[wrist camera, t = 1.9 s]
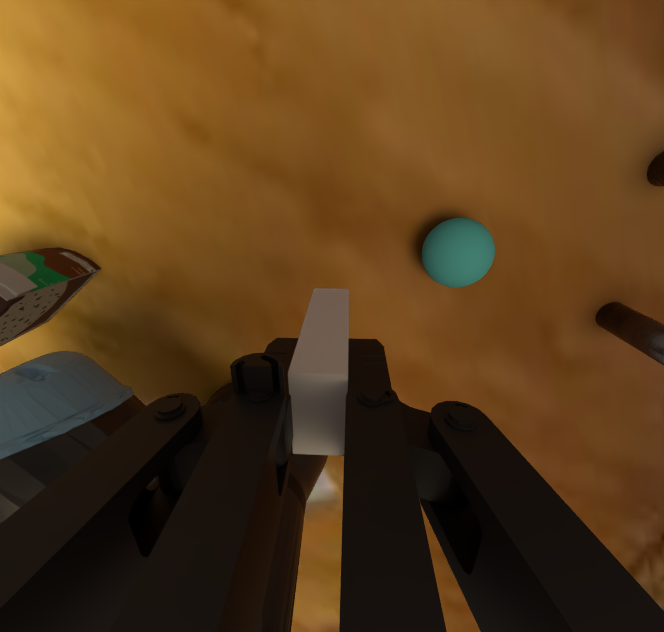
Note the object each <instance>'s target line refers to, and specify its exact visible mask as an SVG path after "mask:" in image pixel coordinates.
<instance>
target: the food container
mask: <svg viewBox="0 0 664 632" xmlns="http://www.w3.org/2000/svg"><path fill="white" fill-rule="evenodd" d="M100 270H101V268H100V267H99V266H98V265H97V264H95V263H94V262H93V261H92V260H90V259H88V258H86V257H85V256H83V255H81V254H79V253H77V252H75V251H71V250H67V249H63V248H46V249H39V250H32V251H26V252H19V253H13V254H6V255H0V346H2V345H4V344H6V343H8V342H10V341H12V340H14V339H16V338H17V337H19V336H21V335H23V334H25V333H27V332H29V331H31V330H33V329H35V328H37V327H38V326H40V325H42V324H44V323H46V322H48V321H49V320H50V319H51V318H52V317H53V316H54V315H55V314H56V313H57V312H58V311H59V310H60V309H61V308H62V307H63V306H64V305H65V304H66V303H67V302H68V301H70V300H71V299H72V298H73V297H74V296H75V295H76V294H77V293H78V292H79V291H80V290H81V289H82V288H83V287H84V286H85V285H86V284H87V283H88V282H89V281H90V280H91V279H92V278H93V277H94V276H95V275H96V274H97V273H98V272H99V271H100Z"/></svg>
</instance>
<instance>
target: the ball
mask: <svg viewBox="0 0 664 632" xmlns="http://www.w3.org/2000/svg"><path fill="white" fill-rule="evenodd" d="M494 255H495V246H494V241H493V238H492V236H491V234H490V233H489V231H488V230H487V229H486V228H485V227H484V226H483V225H482V224H480V223H479V222H477V221H475V220H472V219H468V218H453V219H449V220H446V221H444V222H442V223H440V224H439V225H437V226H436V227H435V228H434V229H433V230H432V231H431V232H430V233H429V234H428V236H427V237H426V239H425V241H424V244H423V248H422V262H423V265H424V268H425V270H426V272H427V273H428V275H429V276H430V277H431V278H432V279H433V280H435V281H436V282H438V283H440V284H442V285H444V286H448V287H464V286H468V285H470V284H473V283H475V282H476V281H478V280H479V279H481V278H482V277H483V276H484V275H485V274H486V273H487V271H488V270H489V269H490V267H491V265H492V262H493V260H494Z"/></svg>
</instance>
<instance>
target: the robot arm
mask: <svg viewBox="0 0 664 632" xmlns="http://www.w3.org/2000/svg"><path fill="white" fill-rule="evenodd" d="M348 338H349V289H324V288H314V291H313V294H312V297H311V300H310V304H309V307H308V310H307V313H306V316H305V320H304V323H303V326H302V329H301V332H300V336H299V338H276V339H275V340H274V341H272V342H271V343H270V344H268V346H267V348H266V350H265V352H264V353H254V354H249V355H246V356H243V357H241V358H239V359H237V360H235V361H234V362H233V363H232V364H231V365H230V368H231V375H232V382H233V383H231V384H228V385H226V386H224V387H223V388H221V389H220V390H218V391H217V392H216V393H215V394H214V395H213V396H212V397H211V398H210V399H209V401H208V402H207V404H206V405H205V406H203V407H201V406H200V401H199V400H198V399H197V397H196V396H193V395H191V394H184V393H178V394H171V395H167V396H165V397H162V398H159V399H157V400H155V401H154V402H152V403H151V404H149V405H148V406H146V405H144V404H143V403H142V402H141V401H140V400H139V399H138V398H137V397H136V396H135V395H134V391H133V390H132V389H131V387H129V386H123V385H122V384H121V383H120V382H118V381H117V380H116V379H115V378H114V377H113V376H111V375H110V374H109V373H108V372H107V371H105V370H104V369H103V368H102V367H101V366H99V365H98V364H97V363H96V362H95V361H94V360H92V359H91V358H89V357H88V356H86V355H83V354H81V353H77V352H70V351H60V352H54V353H49V354H46V355H43V356H40V357H38V358H35V359H33V360H30V361H28V362H25V363H23V364H21V365H19V366H16V367H14V368H12V369H10V370H8V371H5V372H3V373H1V374H0V632H291V625H292V616H293V608H294V599H295V591H296V582H297V574H298V565H299V557H300V548H301V540H302V531H303V523H304V514H305V506H306V501H307V499H308V497H309V495H310V494H311V492H312V490H313V488H314V486H315V484H316V482H317V480H318V478H319V476H320V474H321V472H322V470H323V468H324V466H325V463H326V461H327V457H328V455H336V456H344V483H343V520H342V558H341V595H340V632H446V627H445V622H444V617H443V612H442V607H441V603H440V598H439V593H438V588H437V583H436V578H435V573H434V569H433V564H432V559H431V554H430V549H429V544H428V539H427V535H426V530H425V525H424V520H423V515H422V510H421V505H422V507H423V509H424V512H425V514H426V516H427V518H428V520H429V522H430V524H431V526H432V529H433V531H434V533H435V535H436V537H437V539H438V541H439V544H440V546H441V548H442V550H443V552H444V554H445V556H446V558H447V561H448V563H449V565H450V567H451V569H452V571H453V573H454V575H455V578H456V580H457V582H458V584H459V586H460V588H461V590H462V592H463V595H464V597H465V599H466V601H467V603H468V605H469V607H470V610H471V612H472V614H473V616H474V618H475V620H476V622H477V624H478V627H479V629H480V631H481V632H664V611H663V610H662V609H661V608H660V606H659V605H658V604H657V603H656V602H655V601H654V600H653V599H652V598H651V597H650V595H649V594H648V593H647V592H646V591H645V590H644V589H643V588H642V587H641V586H640V584H639V583H638V582H637V581H636V580H635V579H634V578H633V577H632V576H631V575H630V573H629V572H628V571H627V570H626V569H625V568H624V567H623V566H622V565H621V564H620V562H619V561H618V560H617V559H616V558H615V557H614V556H613V555H612V554H611V553H610V551H609V550H608V549H607V548H606V547H605V546H604V545H603V544H602V543H601V542H600V540H599V539H598V538H597V537H596V536H595V535H594V534H593V533H592V532H591V530H590V529H589V528H588V527H587V526H586V525H585V524H584V523H583V522H582V521H581V519H580V518H579V517H578V516H577V515H576V514H575V513H574V512H573V511H572V510H571V508H570V507H569V506H568V505H567V504H566V503H565V502H564V501H563V500H562V499H561V497H560V496H559V495H558V494H557V493H556V492H555V491H554V490H553V489H552V488H551V486H550V485H549V484H548V483H547V482H546V481H545V480H544V479H543V478H542V477H541V475H540V474H539V473H538V472H537V471H536V470H535V469H534V468H533V467H532V466H531V464H530V463H529V462H528V461H527V460H526V459H525V458H524V457H523V456H522V454H521V453H520V452H519V451H518V450H517V449H516V448H515V447H514V446H513V445H512V443H511V442H510V441H509V440H508V439H507V438H506V437H505V436H504V435H503V434H502V432H501V431H500V430H499V429H498V428H497V427H496V426H495V425H494V424H493V423H492V421H491V420H490V419H489V418H488V417H487V416H486V415H485V414H484V413H482V412H481V411H480V410H479V409H477V408H475V407H473V406H471V405H469V404H466V403H462V402H458V401H444V402H441V403H438V404H436V405H435V406H434V407H433V408H432V410H431V413H430V412H426V411H422V410H418V409H415V408H412V407H409V406H407V405H405V404H404V403H402V402H401V401H399V399H398V396H397V395H396V393H395V391H393V390H392V388H391V382H390V377H389V372H388V367H387V361H386V357H385V351H384V346H383V345H382V344H381V343H380V342H379V341H378V340H377V339H348ZM419 499H420V501H419ZM420 503H421V505H420Z"/></svg>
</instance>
